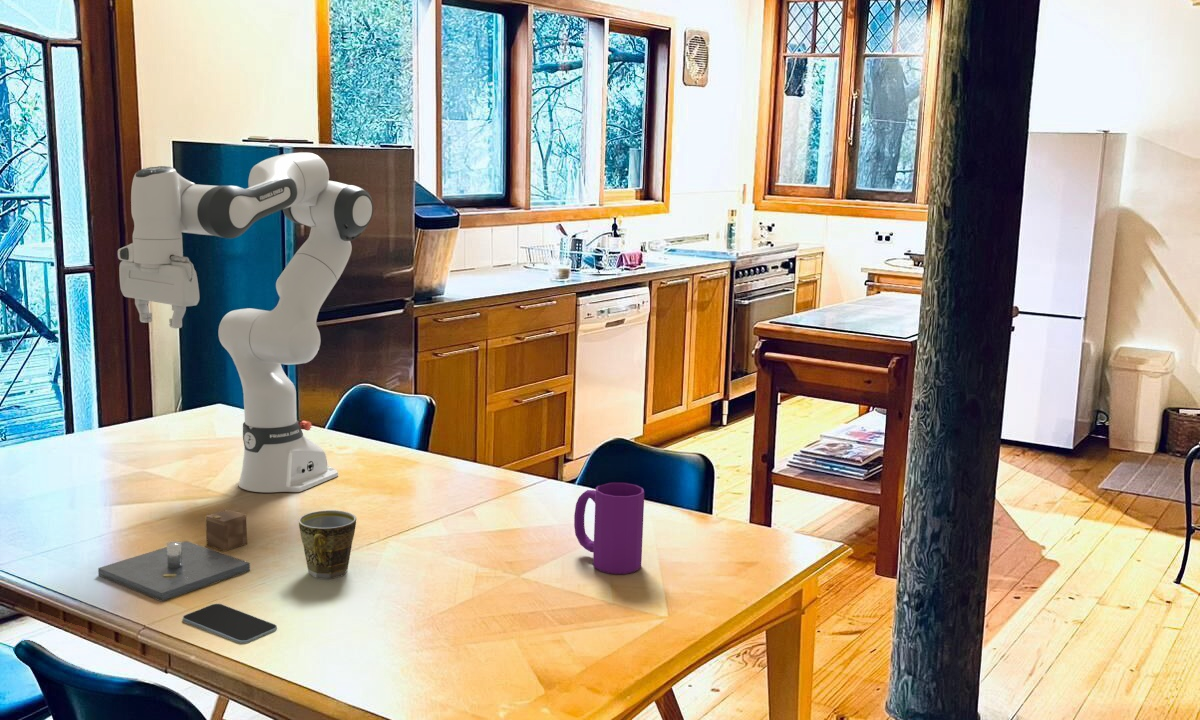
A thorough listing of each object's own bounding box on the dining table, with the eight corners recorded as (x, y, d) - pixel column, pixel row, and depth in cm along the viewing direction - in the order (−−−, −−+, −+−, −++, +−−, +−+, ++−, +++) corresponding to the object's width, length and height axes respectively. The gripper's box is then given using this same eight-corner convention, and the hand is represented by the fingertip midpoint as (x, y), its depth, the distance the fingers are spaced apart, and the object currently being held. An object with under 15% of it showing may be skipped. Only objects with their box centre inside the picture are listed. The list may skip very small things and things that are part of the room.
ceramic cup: (308, 561, 211) (307, 509, 209) (362, 563, 211) (362, 511, 209) (287, 587, 198) (286, 532, 196) (344, 590, 198) (344, 535, 196)
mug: (618, 579, 207) (621, 500, 204) (557, 557, 217) (560, 480, 215) (651, 567, 214) (655, 489, 211) (590, 545, 224) (593, 471, 221)
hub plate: (186, 548, 215) (185, 520, 214) (249, 570, 205) (249, 541, 204) (98, 576, 201) (97, 546, 200) (162, 601, 191) (160, 570, 190)
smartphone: (242, 642, 176) (179, 617, 184) (242, 647, 176) (179, 622, 184) (280, 626, 182) (217, 602, 190) (280, 631, 182) (217, 607, 190)
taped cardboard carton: (229, 538, 222) (228, 507, 220) (247, 543, 219) (246, 513, 218) (206, 545, 217) (205, 514, 216) (224, 551, 214) (223, 520, 213)
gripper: (206, 256, 215) (208, 329, 217) (141, 248, 226) (144, 317, 229) (177, 258, 210) (179, 333, 212) (112, 249, 221) (115, 320, 224)
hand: (160, 325), depth 221 cm, fingers open, 8 cm apart
